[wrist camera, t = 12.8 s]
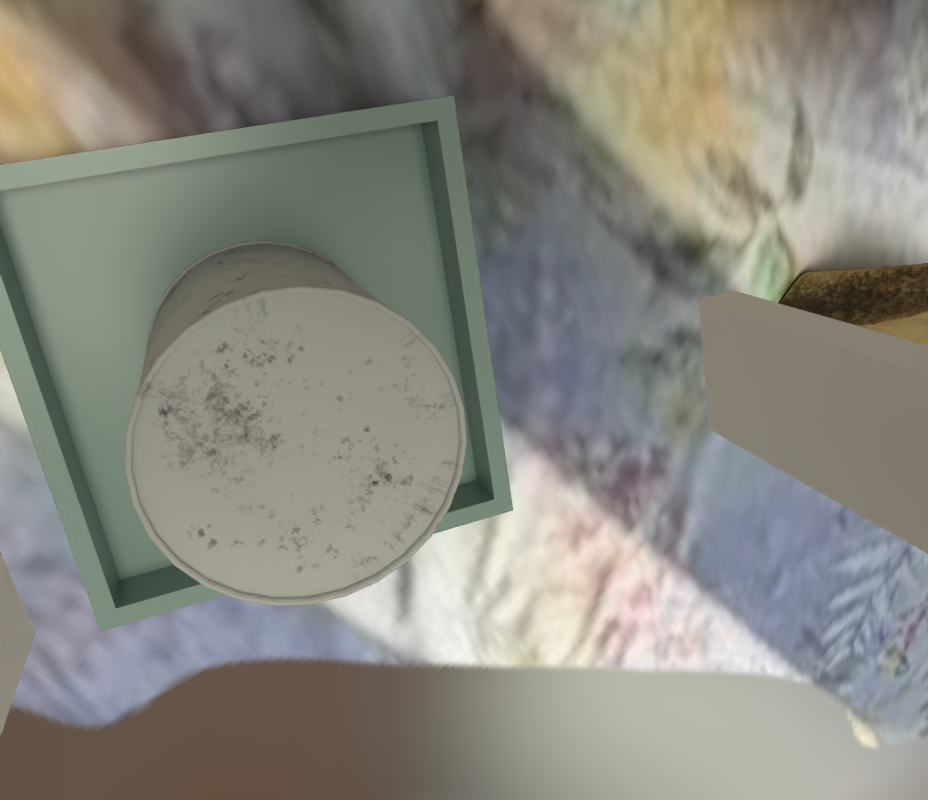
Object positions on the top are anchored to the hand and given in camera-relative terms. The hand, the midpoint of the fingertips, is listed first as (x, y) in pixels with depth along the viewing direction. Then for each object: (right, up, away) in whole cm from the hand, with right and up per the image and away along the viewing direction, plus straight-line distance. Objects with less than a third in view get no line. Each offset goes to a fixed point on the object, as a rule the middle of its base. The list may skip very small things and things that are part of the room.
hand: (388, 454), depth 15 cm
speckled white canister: (-7, +3, +20) cm, 21 cm away
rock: (+23, +6, +30) cm, 38 cm away
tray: (-7, +3, +20) cm, 22 cm away
